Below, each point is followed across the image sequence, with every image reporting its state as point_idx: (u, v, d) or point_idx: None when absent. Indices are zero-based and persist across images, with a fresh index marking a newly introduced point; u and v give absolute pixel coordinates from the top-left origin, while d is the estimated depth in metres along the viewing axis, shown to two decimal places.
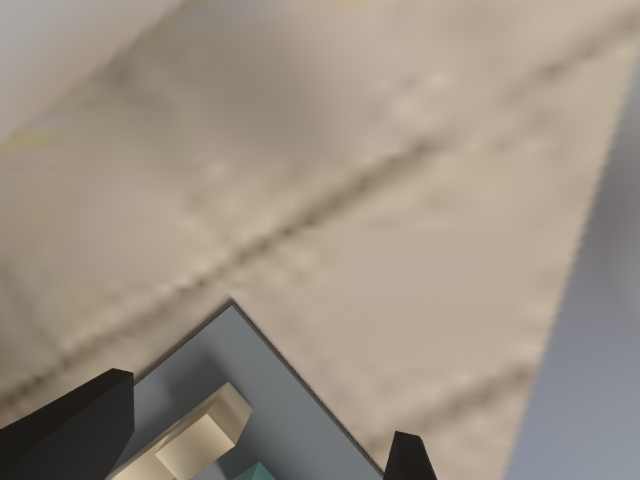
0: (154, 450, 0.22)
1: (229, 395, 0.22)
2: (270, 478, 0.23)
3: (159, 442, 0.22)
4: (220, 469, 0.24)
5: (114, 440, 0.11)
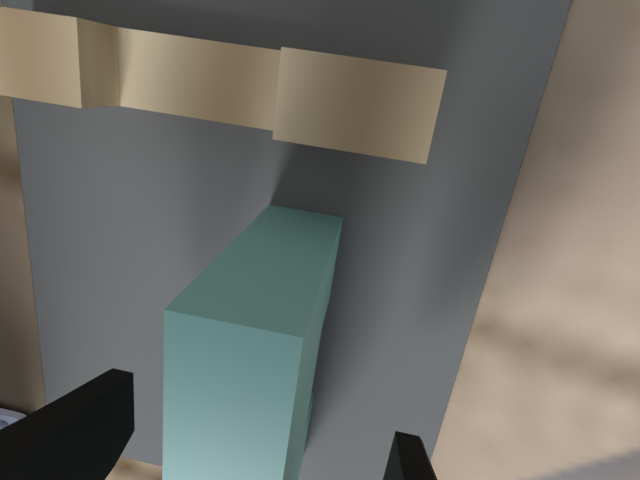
0: (241, 53, 0.11)
1: None
2: None
3: (262, 49, 0.11)
4: (278, 179, 0.13)
5: (114, 440, 0.11)
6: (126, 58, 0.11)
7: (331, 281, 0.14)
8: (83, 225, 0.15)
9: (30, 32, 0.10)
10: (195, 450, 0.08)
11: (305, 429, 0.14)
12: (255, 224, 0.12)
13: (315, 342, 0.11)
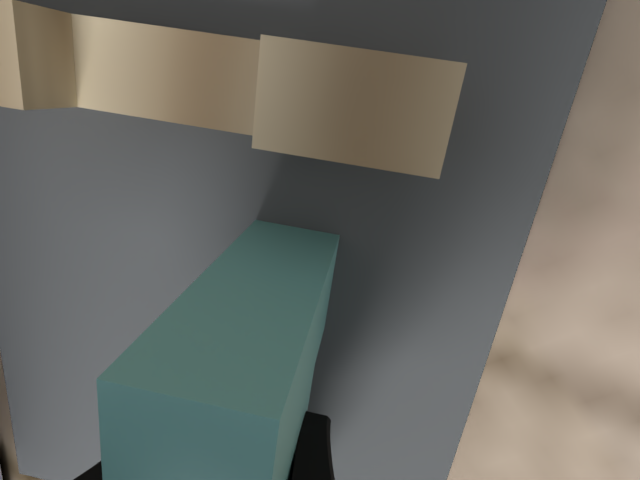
0: (217, 44, 0.09)
1: None
2: (332, 273, 0.12)
3: (242, 39, 0.09)
4: (265, 190, 0.12)
5: None
6: (82, 50, 0.10)
7: (326, 308, 0.12)
8: (46, 241, 0.13)
9: None
10: None
11: None
12: (235, 246, 0.10)
13: (305, 390, 0.09)
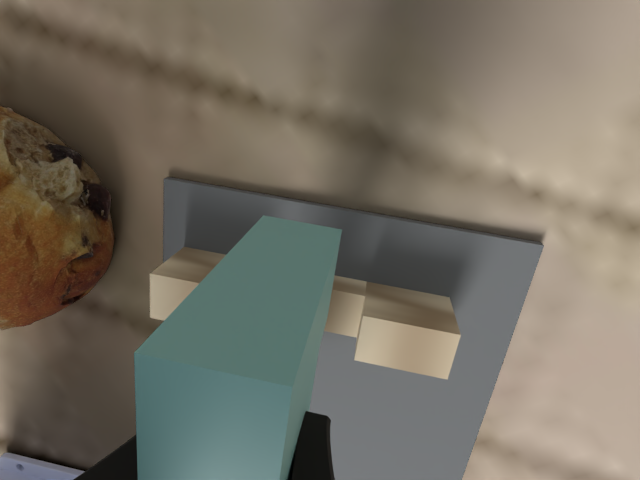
0: None
1: None
2: (335, 265, 0.13)
3: (343, 292, 0.17)
4: (344, 348, 0.20)
5: None
6: None
7: (329, 297, 0.13)
8: None
9: None
10: None
11: None
12: (246, 240, 0.11)
13: (310, 370, 0.10)
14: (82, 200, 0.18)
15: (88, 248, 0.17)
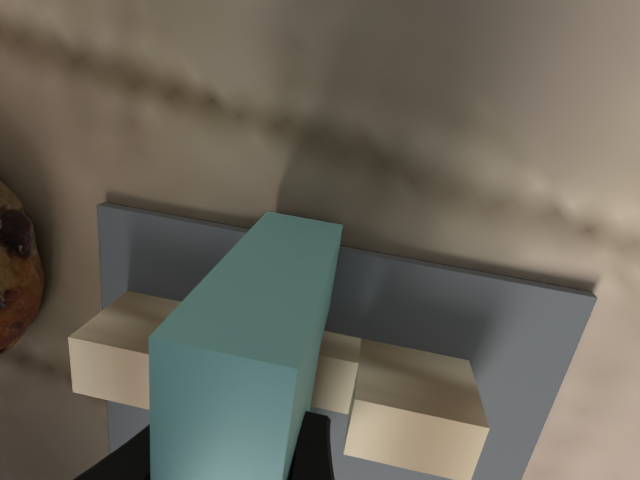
0: None
1: None
2: (337, 259, 0.13)
3: (330, 357, 0.13)
4: (333, 419, 0.16)
5: None
6: None
7: (331, 291, 0.13)
8: None
9: (146, 366, 0.12)
10: None
11: None
12: (251, 234, 0.11)
13: (313, 359, 0.10)
14: None
15: None
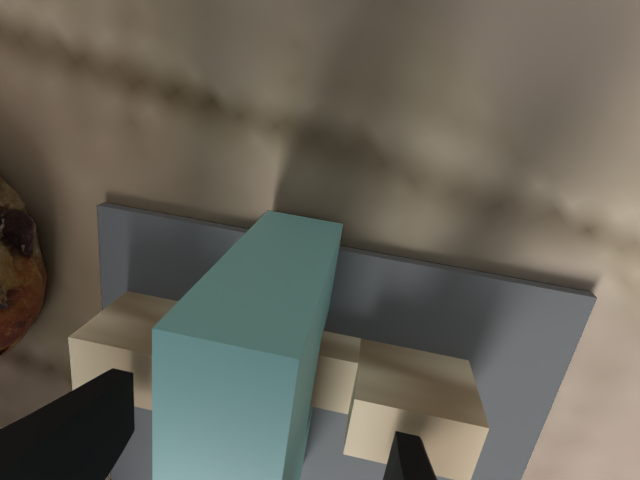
0: None
1: None
2: (337, 258, 0.13)
3: (330, 357, 0.13)
4: (333, 419, 0.16)
5: (114, 440, 0.11)
6: None
7: (331, 289, 0.13)
8: None
9: (146, 367, 0.12)
10: (186, 473, 0.08)
11: (304, 441, 0.14)
12: (252, 232, 0.11)
13: (314, 355, 0.10)
14: None
15: None
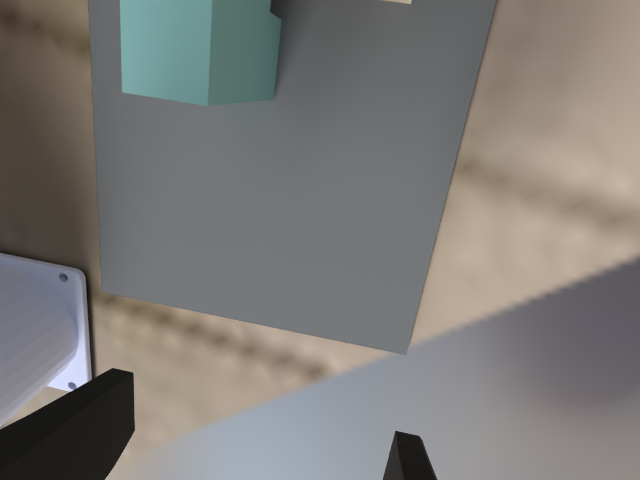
0: None
1: None
2: None
3: None
4: (300, 37, 0.17)
5: (114, 440, 0.11)
6: None
7: None
8: None
9: None
10: None
11: (270, 14, 0.15)
12: None
13: None
14: None
15: None
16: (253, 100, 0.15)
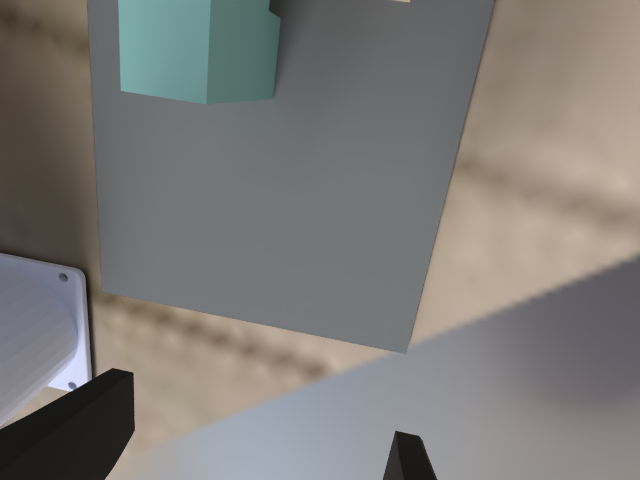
0: None
1: None
2: None
3: None
4: (299, 35, 0.17)
5: (114, 440, 0.11)
6: None
7: None
8: None
9: None
10: None
11: (269, 12, 0.15)
12: None
13: None
14: None
15: None
16: (252, 99, 0.15)
